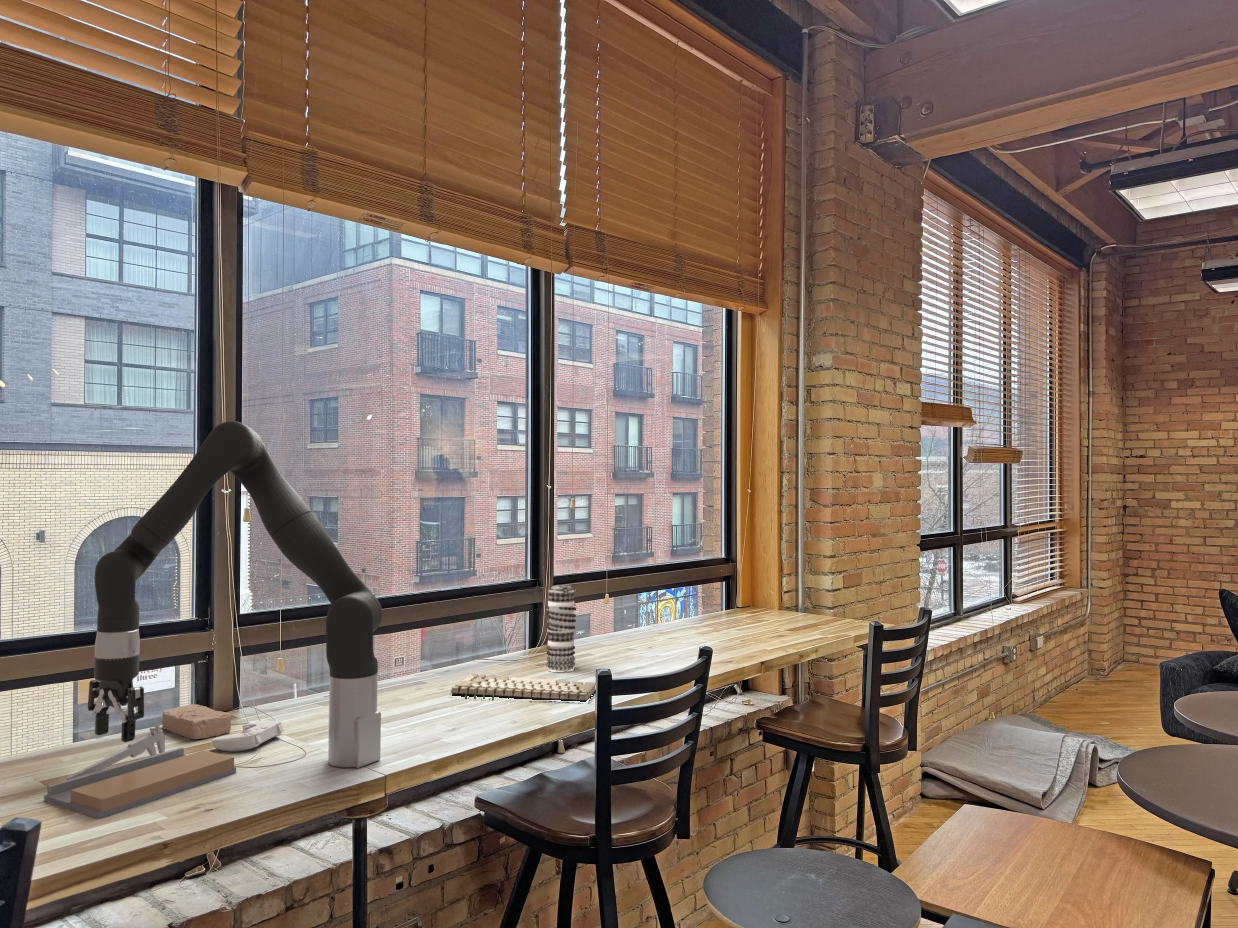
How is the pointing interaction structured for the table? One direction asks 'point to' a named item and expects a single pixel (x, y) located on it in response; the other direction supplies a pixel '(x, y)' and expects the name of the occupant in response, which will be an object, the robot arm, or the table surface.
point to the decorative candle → (561, 628)
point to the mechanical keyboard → (523, 688)
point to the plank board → (138, 782)
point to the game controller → (249, 736)
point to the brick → (196, 721)
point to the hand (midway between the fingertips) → (114, 737)
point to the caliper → (128, 752)
